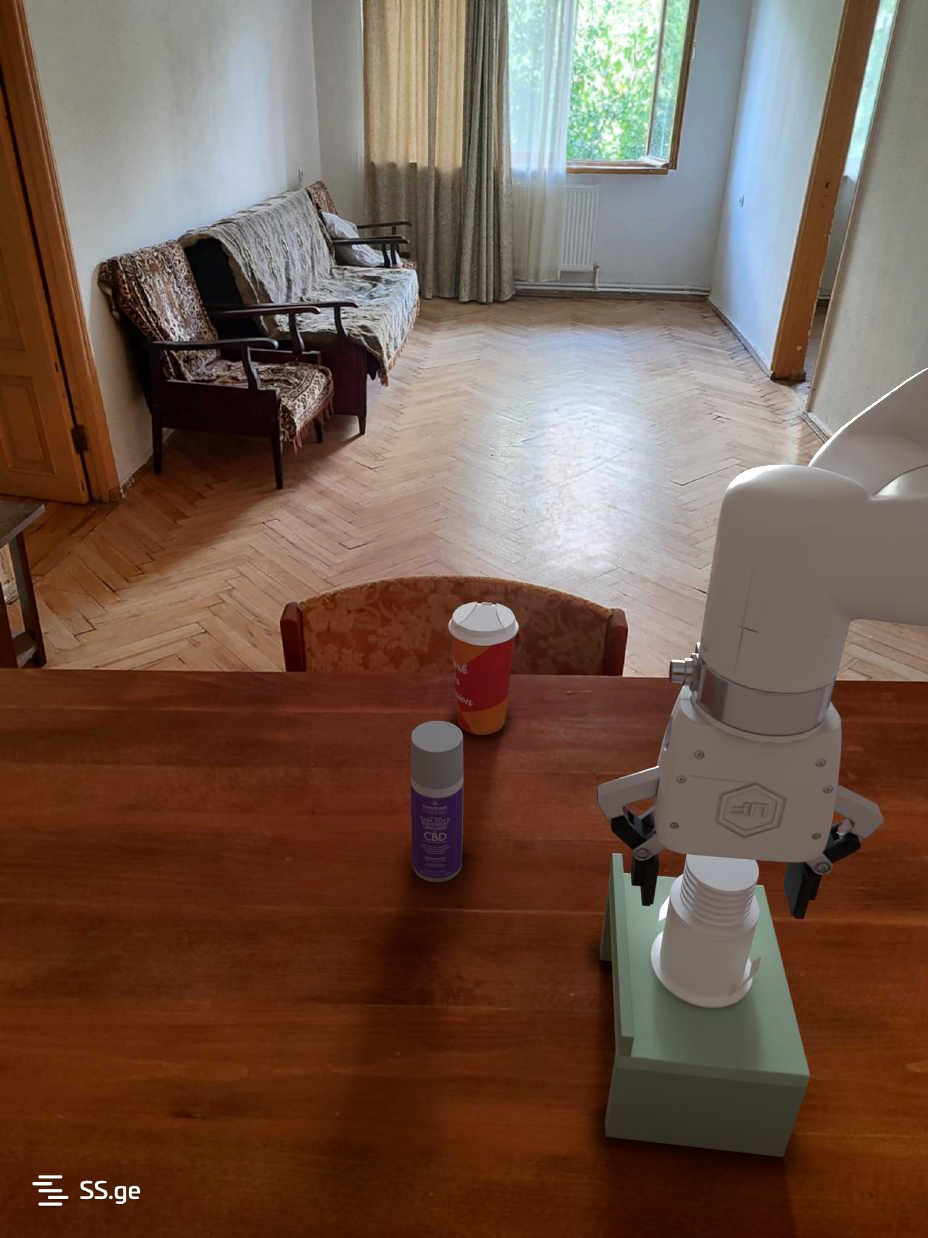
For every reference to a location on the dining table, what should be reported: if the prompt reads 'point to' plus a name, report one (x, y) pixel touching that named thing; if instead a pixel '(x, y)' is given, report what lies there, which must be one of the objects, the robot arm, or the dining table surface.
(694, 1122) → the green ledge block
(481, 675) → the paper cup
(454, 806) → the container
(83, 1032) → the dining table surface
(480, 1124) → the dining table surface
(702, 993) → the downlight
